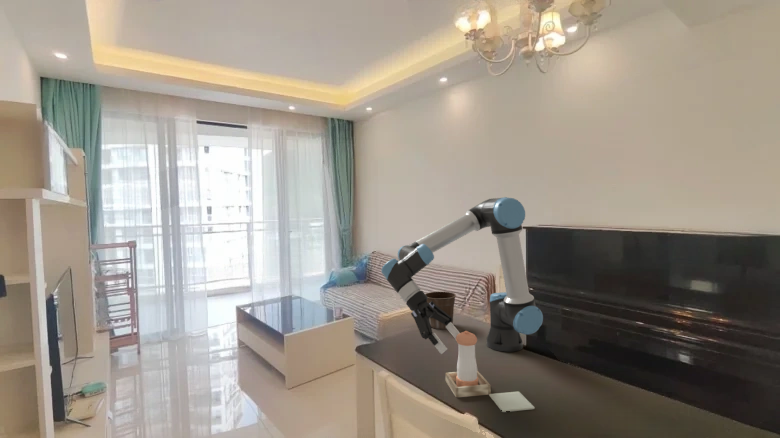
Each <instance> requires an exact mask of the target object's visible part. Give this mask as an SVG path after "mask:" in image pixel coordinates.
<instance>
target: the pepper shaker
mask: <svg viewBox="0 0 780 438" xmlns="http://www.w3.org/2000/svg"><path fill="white" fill-rule="evenodd" d="M455 341H456V343H457V345H458V347H457V349H458V353H457V354H458V357H457V362H456V363H457V364H456V372H457V376H456V381H455V384H456V385H457V387H462V386H473V385H479V383H478V377H477V370H478V365H477V364H478V363H477V359H476V344H477V342H478V338H477V335H476V334H475V333H472V332H469V331H468V330H465V331H462V332H460V333H459V334H458V335H457V336H456V339H455Z"/></svg>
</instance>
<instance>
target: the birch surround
mask: <svg viewBox="0 0 780 438" xmlns="http://www.w3.org/2000/svg"><path fill="white" fill-rule="evenodd" d="M456 376H457V371H452V372H451V371H449V372H445V382H446V384H447V386H448V387H449V388H450V390H451V392H452V393H453V396H455V398H457V399H458V398H467V397H476V396H486V395H488V396H489V394H492V390H491V386H492V385H491V384H490V383H489V381H488V380H487V379H486V378H485V377H484V376H483V375H482V373H480V372H479V370H478V369H477V377H478V385H473V386H462V387H457V385H456Z"/></svg>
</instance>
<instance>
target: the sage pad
mask: <svg viewBox="0 0 780 438" xmlns="http://www.w3.org/2000/svg"><path fill="white" fill-rule="evenodd" d="M488 396H489V397H490V398H491V400H492V401H493V402H494V404H495V405H496V406H497V407H498V408H499V410H500V411H501V410H502V411H501V412H502V413H507V412H506V411H510V412H517V411H518V412H519V411H529V410H535V406H534V405H533V404H532V403H531V402H530V401H529V400H528V399H527V398H526V397H525V396H524V395H523V394H522V393H521V392H520V391H519V390H518V391H510V392H496V393H491V394H489V395H488Z"/></svg>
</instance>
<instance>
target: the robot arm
mask: <svg viewBox="0 0 780 438" xmlns="http://www.w3.org/2000/svg"><path fill="white" fill-rule="evenodd" d="M525 220H526V210H525V207H524V206H523V204H522V202H520V201H519V200H518V199H516V198H512V197H506V196H504V197H497V198H496V197H495V198H489V199H486V200H484V201H482V202H480V203H479V204H477V205H475V206H474V207H471V208H470V209H468V210H466V212H465V214H464V215H461V216H460V217H458V218H456V219H454V220H453V221H451V222H448V223H447V224H445V225H443V226H442V227H440V228H438V229H436V230H434V231H432V232H431V233H428V234H427V235H425V236H423V237H421V238H419V239H417V240H416V241H414V242H411V243H409V245H408V244H407V245H402V246H401V247H400V248H398V250H397V258H398V259H396V258H391V259H390V260H388V261H387V262H385V263H384V265H383V266H382V267H381V274H382V275H383V276H384V278H385V280H386V281H387V282H388V283H389V284H390V286H391V287H392V288H393V289H394V291H395V292H396V293H397V294H398V296H399V297H400V299H402V301H403V302H404V303H405V304H406V306H407V308H408V309H410V311H411V313H410V315H411V317H412V318H413V319H414V322H415V324H416V326H417V329H418V331H419V334H420V336H421V337H422V339H424V340H427V339H428V340H429V341H430V342H431V343H432V345H433V346H434V348H436V351H438V352H439V354H440V355H442V354H444V353H445V352H446V351H447V350H448V347H447V346H446V345H445V343H443V341H442V340H441V339H440V337H439V336H438V335H437V333H436V332H433V328H432V327H431V325H430V321H429V318H434V319H436V320H438V321H439V322H441V323H443V324H445V325H446V330H447V331H448V332H449V334H450V335H452V337H453V338H454V339H455V340H456V336H457V335H458V334H459V333H461V332H460V331H459V330H458V329H457V327H456V326H455V325H454V323H453V324H452V323H451V321H452V320H453V321H454V318H453V319H452V317H451V316H449V315H448V314H447V313H446V312H444V311H443V310H442V309H441V308H439V307H438V306H437V305H436V304H435V303H434V302H433V301H431V302H430V303H428V302H427V299H428V297H427V296H426V295H425V294H426V293H425V292H424V291H423V290H421V287H420V286H419V285H418V284H417V282H415V280H414V278H412V277H414V276H415V275H416V274H418V273H419V272H420V271H421V270H423V269H424V268H425V267H427V266H428V265H430V264H431V262H432V261H434V259H435V255H434V253H435V252H437V251H439V250H441V249H442V248H444V247H446V246H448V245H450V244H452V243H453V242H455V241H457V240H459V239H460V238H463V237H464V236H466V235H468V234H469V233H472V232H473V231H475V232H479V231H480V230H482V229H485V228H489V227H490V230H491V234H492V235H493V236H494V237H496V241H497V247H498V254H499V258H500V259H499V260H500V263H501V265H500V266H501V269H502V275H503V280H504V281H503V282H504V287H505V292H504V291H503V292H494V293H491V294H490V297H489V311H490V312H489V315H490V317H489V319H490V326H489V331H488V333H487V336H486V346H487V347H488V348H490V349H492V350H494V351H499V352H508V353H511V352H518V351H521V350H522V349H523V348H524V347H523V346H524V344H523V343H524V342H523V338H522V336H521V334H522V335H533V334H534V333H537V331H539V329H540V327H541V326H542V324H543V322H544V321H543V320H544V315H543V312H542V311H541V309H540V308H539V307H538V306H536V301H535V297H534V295H532V294H531V293H530V292H529V291H530V290H529V285H528V279H527V273H526V267H525V261H524V256H523V255H524V254H523V249H522V244H521V237H520V234H521V232H522V231H523V227H522V224H523V223H524V221H525ZM447 317H448V318H447Z"/></svg>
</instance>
